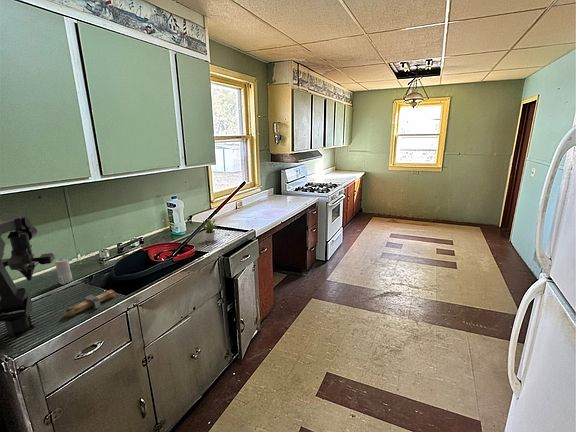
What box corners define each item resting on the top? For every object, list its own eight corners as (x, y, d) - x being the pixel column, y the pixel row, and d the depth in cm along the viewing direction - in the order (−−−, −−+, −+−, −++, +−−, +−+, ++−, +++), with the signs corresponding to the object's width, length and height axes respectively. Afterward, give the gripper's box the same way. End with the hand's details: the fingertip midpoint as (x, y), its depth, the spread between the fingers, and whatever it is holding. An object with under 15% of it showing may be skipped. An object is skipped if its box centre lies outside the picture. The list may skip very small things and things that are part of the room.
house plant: (212, 234, 221) (210, 213, 217) (225, 238, 213) (224, 216, 209) (196, 240, 210) (194, 218, 205) (210, 244, 202) (208, 221, 198)
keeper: (95, 309, 127) (93, 301, 126) (87, 304, 131) (85, 297, 130) (101, 306, 129) (99, 298, 128) (92, 302, 133) (91, 294, 132)
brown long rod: (67, 318, 120) (65, 312, 119) (62, 315, 122) (60, 309, 121) (115, 295, 137) (114, 290, 136) (110, 293, 139) (109, 288, 138)
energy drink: (70, 278, 155) (66, 257, 152) (74, 281, 152) (69, 259, 148) (58, 282, 151) (53, 260, 148) (61, 285, 148) (56, 263, 144)
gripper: (-20, 256, 111) (-9, 293, 115) (42, 248, 118) (50, 284, 122) (-5, 246, 121) (5, 281, 125) (51, 239, 128) (58, 273, 132)
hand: (29, 280), depth 126 cm, fingers closed
